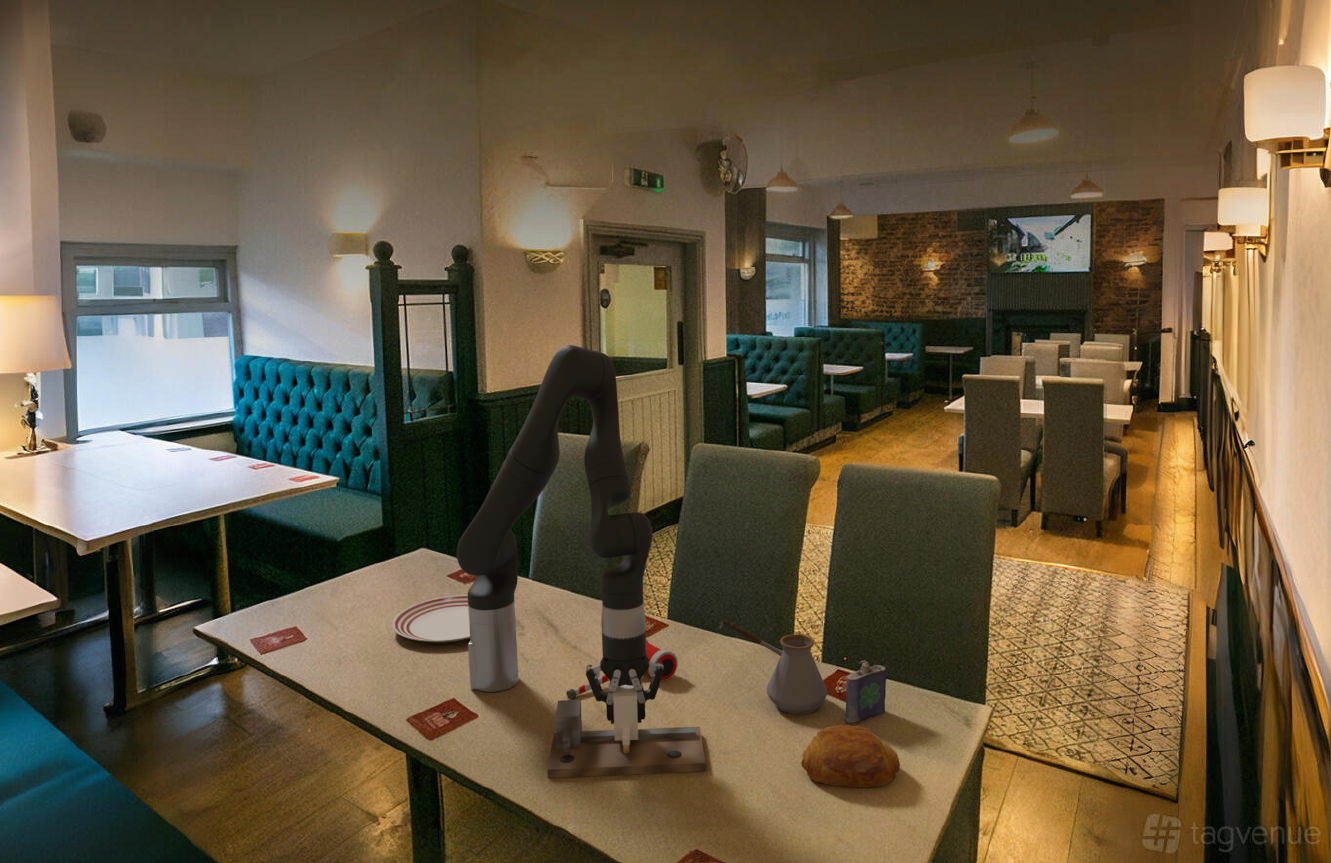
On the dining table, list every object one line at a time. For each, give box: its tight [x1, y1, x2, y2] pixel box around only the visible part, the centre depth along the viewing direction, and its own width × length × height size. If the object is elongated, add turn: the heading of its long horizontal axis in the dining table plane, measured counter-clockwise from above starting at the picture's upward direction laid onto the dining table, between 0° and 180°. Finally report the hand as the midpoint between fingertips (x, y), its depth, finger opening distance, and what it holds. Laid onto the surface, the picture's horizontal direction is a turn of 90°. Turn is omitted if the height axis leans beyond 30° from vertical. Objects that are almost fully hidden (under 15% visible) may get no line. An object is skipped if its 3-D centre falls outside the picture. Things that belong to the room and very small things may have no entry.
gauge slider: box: [613, 685, 639, 753], centre depth 147 cm, size 4×10×8 cm, turn 2°
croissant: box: [801, 724, 901, 788], centre depth 141 cm, size 14×16×8 cm
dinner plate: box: [391, 594, 470, 643], centre depth 205 cm, size 27×27×3 cm
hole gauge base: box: [546, 699, 707, 779], centre depth 146 cm, size 26×12×8 cm, turn 92°
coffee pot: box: [718, 618, 828, 715], centre depth 165 cm, size 21×12×15 cm, turn 65°
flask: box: [844, 659, 888, 726], centre depth 158 cm, size 9×3×11 cm, turn 121°
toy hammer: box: [566, 638, 679, 700], centre depth 174 cm, size 23×12×6 cm, turn 127°
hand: (626, 720), depth 149 cm, fingers closed on gauge slider, 4 cm apart
